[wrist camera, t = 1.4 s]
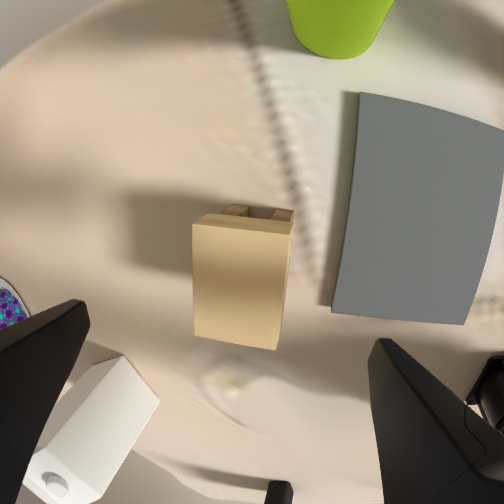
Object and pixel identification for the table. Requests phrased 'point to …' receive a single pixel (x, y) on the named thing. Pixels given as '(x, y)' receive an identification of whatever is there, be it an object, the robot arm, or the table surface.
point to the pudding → (10, 306)
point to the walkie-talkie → (279, 493)
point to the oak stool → (240, 276)
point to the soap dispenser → (337, 25)
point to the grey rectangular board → (418, 212)
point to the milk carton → (90, 434)
